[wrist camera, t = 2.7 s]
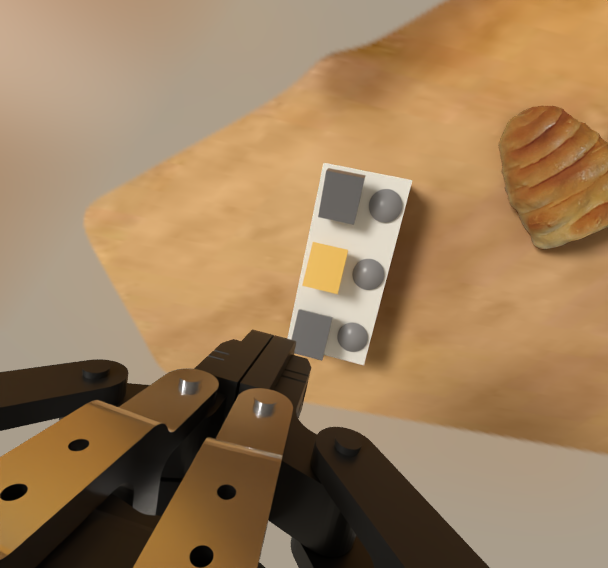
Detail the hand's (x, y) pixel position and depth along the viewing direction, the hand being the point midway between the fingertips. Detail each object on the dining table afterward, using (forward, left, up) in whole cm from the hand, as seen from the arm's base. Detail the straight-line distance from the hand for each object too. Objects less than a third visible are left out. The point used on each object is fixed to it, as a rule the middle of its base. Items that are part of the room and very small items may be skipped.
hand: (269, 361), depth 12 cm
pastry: (-14, -10, -19) cm, 26 cm away
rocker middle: (0, -1, -15) cm, 15 cm away
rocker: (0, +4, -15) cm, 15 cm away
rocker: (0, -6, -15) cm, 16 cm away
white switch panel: (-1, -1, -19) cm, 19 cm away
